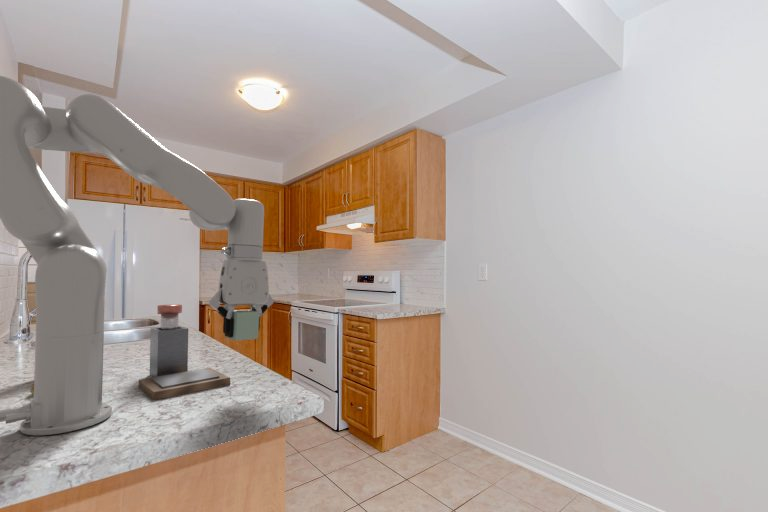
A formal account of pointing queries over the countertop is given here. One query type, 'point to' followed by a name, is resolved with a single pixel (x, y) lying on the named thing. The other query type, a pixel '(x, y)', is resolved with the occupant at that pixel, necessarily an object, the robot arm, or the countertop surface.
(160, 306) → the push button
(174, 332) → the column
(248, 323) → the block
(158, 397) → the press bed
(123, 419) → the countertop surface
